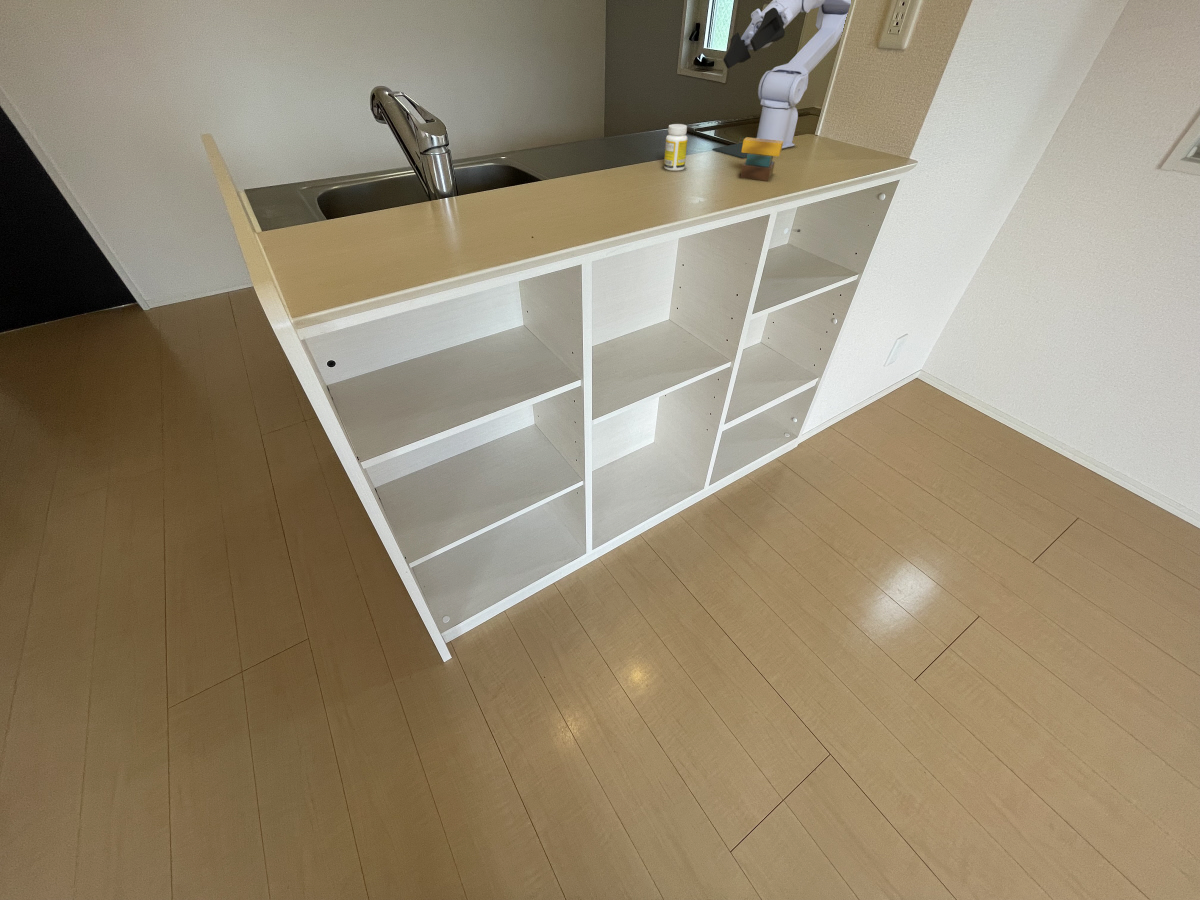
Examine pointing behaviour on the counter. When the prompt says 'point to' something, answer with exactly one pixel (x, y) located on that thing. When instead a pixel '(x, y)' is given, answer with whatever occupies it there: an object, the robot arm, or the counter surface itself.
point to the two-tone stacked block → (757, 167)
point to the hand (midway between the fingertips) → (739, 54)
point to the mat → (732, 150)
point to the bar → (762, 146)
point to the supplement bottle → (675, 147)
